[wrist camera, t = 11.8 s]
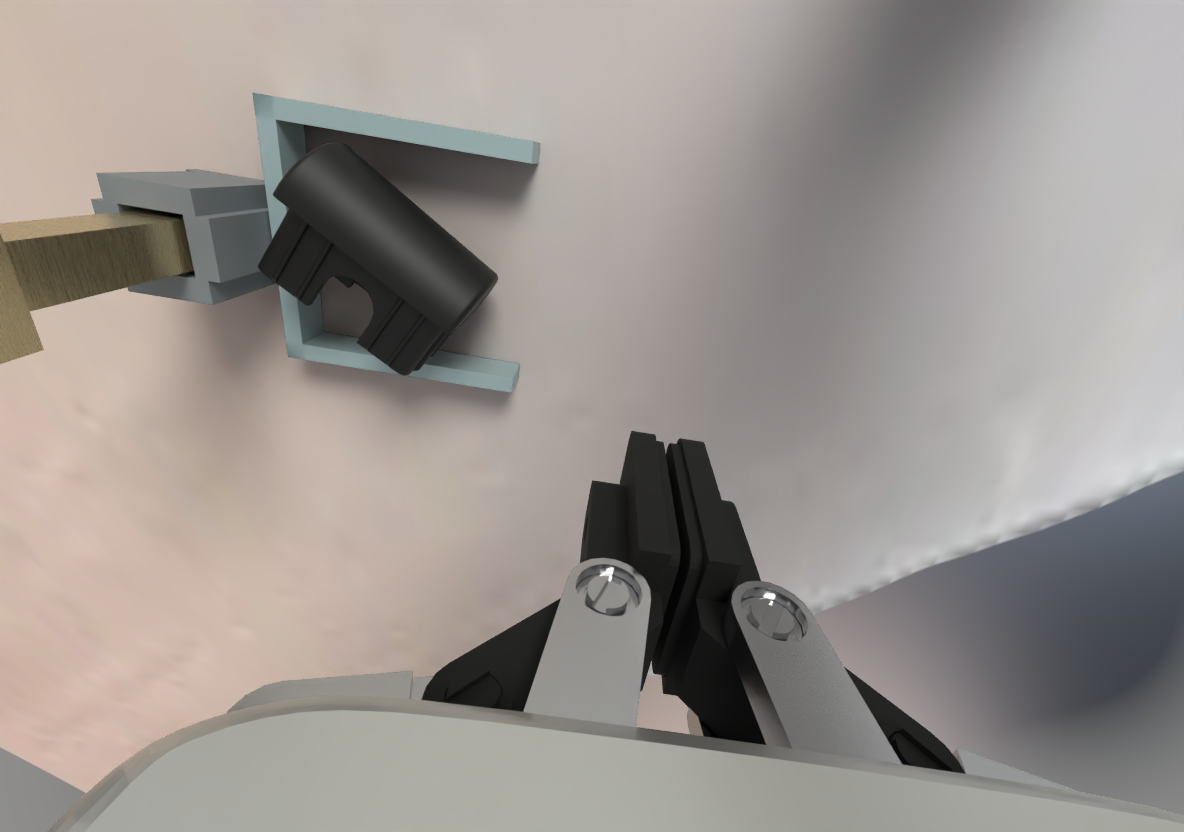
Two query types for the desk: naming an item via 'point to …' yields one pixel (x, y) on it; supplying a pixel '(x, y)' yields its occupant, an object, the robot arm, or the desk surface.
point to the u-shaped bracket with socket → (253, 215)
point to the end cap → (373, 255)
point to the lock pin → (80, 264)
